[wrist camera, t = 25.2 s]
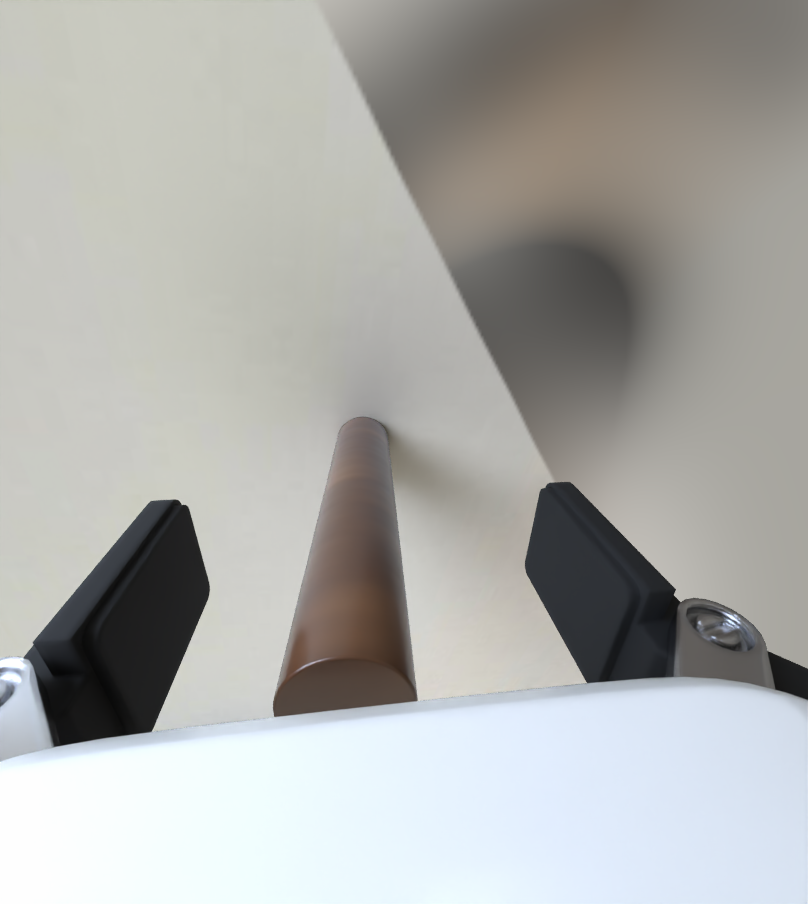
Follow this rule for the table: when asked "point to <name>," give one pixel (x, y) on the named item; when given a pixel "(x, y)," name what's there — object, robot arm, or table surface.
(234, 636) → the table surface
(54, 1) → the table surface
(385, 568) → the stick
